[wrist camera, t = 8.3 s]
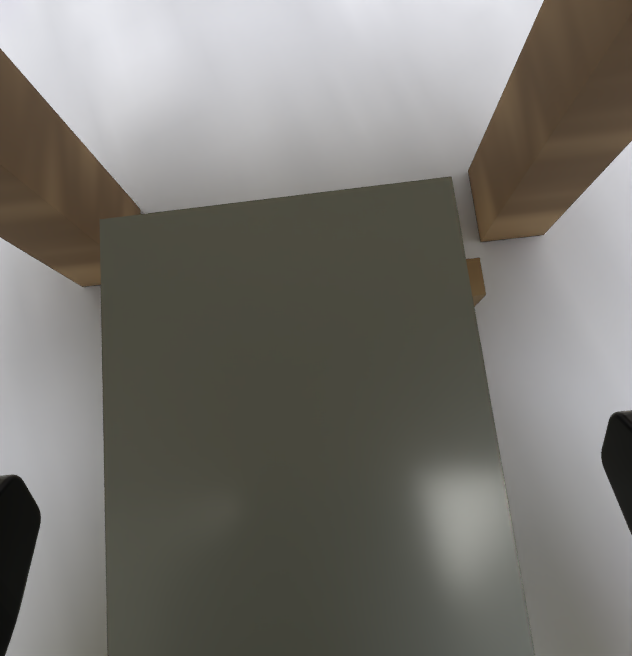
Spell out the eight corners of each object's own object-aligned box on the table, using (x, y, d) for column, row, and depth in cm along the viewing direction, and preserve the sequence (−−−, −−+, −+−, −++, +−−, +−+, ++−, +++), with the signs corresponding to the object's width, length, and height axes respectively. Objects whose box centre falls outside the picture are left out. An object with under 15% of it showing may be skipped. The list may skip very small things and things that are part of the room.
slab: (416, 591, 15) (584, 941, 4) (276, 605, 15) (114, 976, 5) (384, 348, 17) (451, 177, 6) (256, 363, 17) (99, 219, 6)
